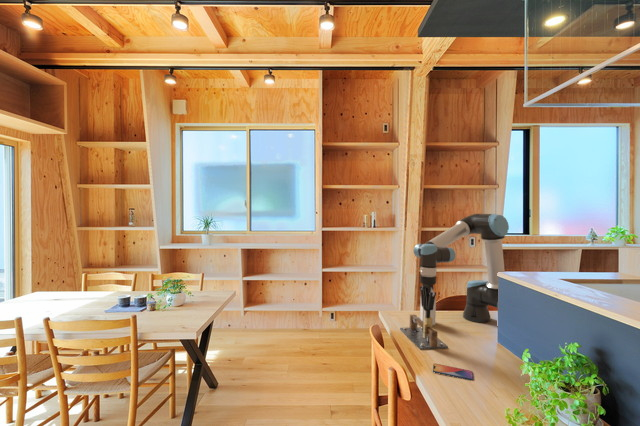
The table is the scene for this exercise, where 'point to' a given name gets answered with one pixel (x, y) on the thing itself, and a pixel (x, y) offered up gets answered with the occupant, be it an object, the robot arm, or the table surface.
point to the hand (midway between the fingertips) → (426, 322)
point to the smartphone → (453, 371)
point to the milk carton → (432, 313)
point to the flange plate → (421, 338)
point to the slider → (427, 324)
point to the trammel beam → (416, 320)
